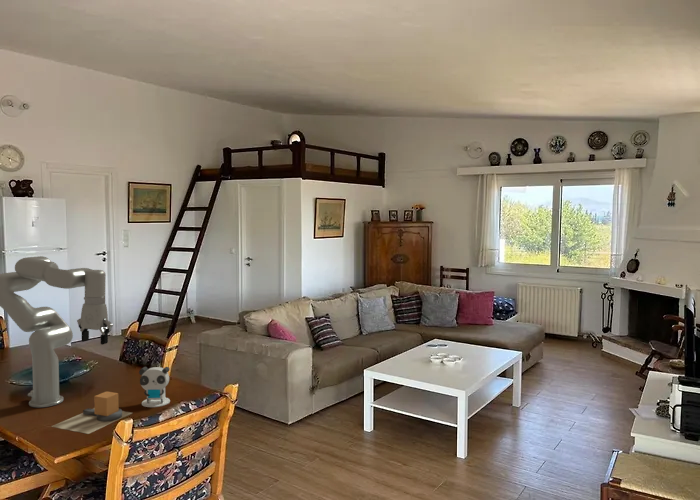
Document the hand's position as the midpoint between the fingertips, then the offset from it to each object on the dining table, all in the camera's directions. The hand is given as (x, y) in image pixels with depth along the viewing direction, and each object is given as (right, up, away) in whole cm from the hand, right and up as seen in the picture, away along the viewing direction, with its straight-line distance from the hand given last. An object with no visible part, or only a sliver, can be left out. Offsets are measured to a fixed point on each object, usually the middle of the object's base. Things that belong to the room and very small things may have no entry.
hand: (94, 342), depth 215 cm
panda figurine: (+21, -28, +10) cm, 36 cm away
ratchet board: (+5, -29, -11) cm, 32 cm away
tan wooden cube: (+9, -26, -10) cm, 29 cm away
